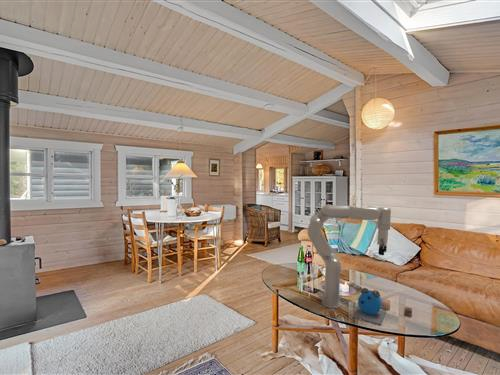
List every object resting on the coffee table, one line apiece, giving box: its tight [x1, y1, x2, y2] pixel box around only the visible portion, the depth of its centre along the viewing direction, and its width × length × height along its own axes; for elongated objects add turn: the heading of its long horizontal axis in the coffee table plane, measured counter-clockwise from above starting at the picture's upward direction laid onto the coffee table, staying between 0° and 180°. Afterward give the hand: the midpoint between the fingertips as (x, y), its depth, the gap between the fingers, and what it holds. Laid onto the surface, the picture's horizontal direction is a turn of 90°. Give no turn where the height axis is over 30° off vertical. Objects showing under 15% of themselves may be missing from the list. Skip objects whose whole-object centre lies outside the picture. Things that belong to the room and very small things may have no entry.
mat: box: [352, 305, 387, 326], centre depth 184 cm, size 16×20×1 cm
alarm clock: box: [357, 287, 382, 315], centre depth 184 cm, size 13×6×15 cm, turn 56°
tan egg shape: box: [381, 298, 391, 311], centre depth 193 cm, size 5×5×5 cm
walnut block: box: [403, 306, 413, 318], centre depth 185 cm, size 4×4×4 cm
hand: (382, 253), depth 191 cm, fingers open, 9 cm apart
